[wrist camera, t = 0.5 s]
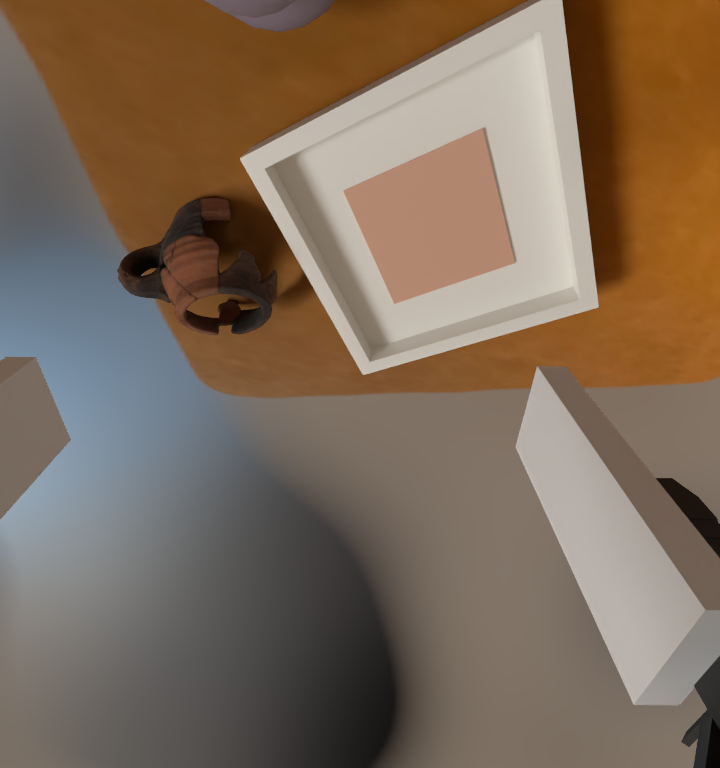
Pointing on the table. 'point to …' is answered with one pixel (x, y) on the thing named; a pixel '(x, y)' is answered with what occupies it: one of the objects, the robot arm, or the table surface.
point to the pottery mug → (199, 272)
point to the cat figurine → (274, 12)
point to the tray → (441, 195)
